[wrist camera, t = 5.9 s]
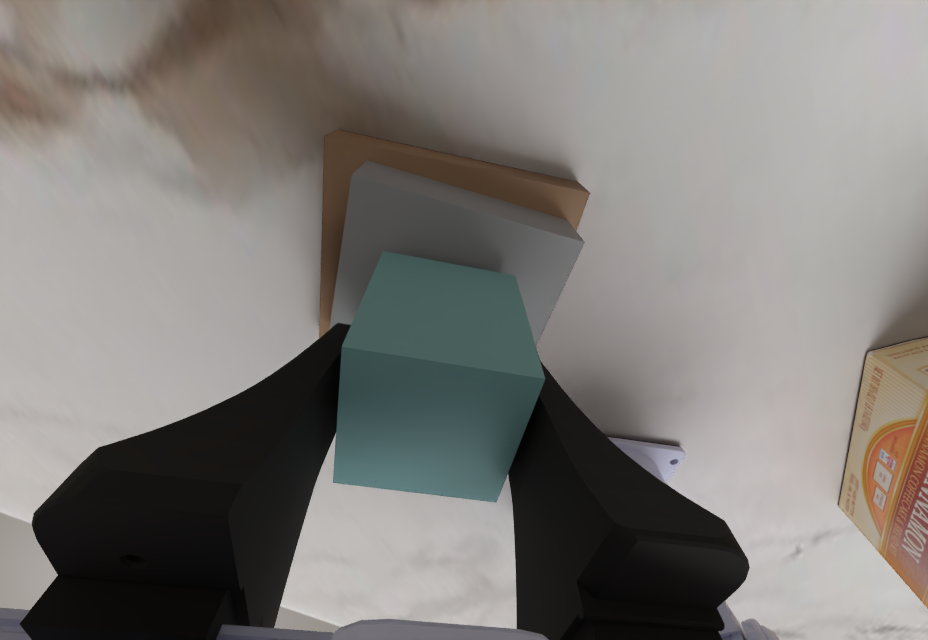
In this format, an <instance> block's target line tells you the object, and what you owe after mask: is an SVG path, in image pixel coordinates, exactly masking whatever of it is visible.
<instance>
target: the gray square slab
mask: <svg viewBox="0 0 928 640" xmlns="http://www.w3.org/2000/svg"><path fill="white" fill-rule="evenodd" d="M584 243H585V242H584V241H583V240H582V238H581V237H580V236H579V234H578V233H577V232H576V230H575V229H574V228H573V226H572V225H571V224H570V222H569V221H568V220H566V219H563V218H560V217H556V216H553V215H550V214H546V213H543V212H540V211H536V210H533V209H529V208H526V207H523V206H519V205H516V204H513V203H509V202H506V201H503V200H499V199H496V198H493V197H489V196H486V195H483V194H479V193H476V192H473V191H469V190H466V189H462V188H459V187H456V186H452V185H449V184H446V183H442V182H439V181H436V180H432V179H429V178H426V177H422V176H419V175H416V174H412V173H409V172H406V171H402V170H399V169H395V168H392V167H389V166H385V165H382V164H379V163H375V162H372V161H369V160H366V161H365V162H364V163H363V164H362V165H361V166H360V167H359V168H358V169H357V170H356V171H355V172H354V173H353V174H352V177H351V183H350V190H349V197H348V204H347V211H346V218H345V225H344V232H343V238H342V245H341V252H340V259H339V266H338V273H337V280H336V286H335V293H334V300H333V307H332V314H331V321H330V328H329V329H331V328H332V327H333V326H334V325H335V324H337V323H343V324H349V325H351V324H352V322H353V319H354V317H355V315H356V312H357V310H358V308H359V306H360V303H361V301H362V299H363V296H364V294H365V292H366V289H367V287H368V285H369V282H370V280H371V278H372V275H373V273H374V271H375V268H376V266H377V264H378V261H379V259H380V257H381V255H382V252H383V251H387V252H392V253H397V254H403V255H408V256H413V257H419V258H424V259H429V260H435V261H440V262H445V263H451V264H456V265H461V266H467V267H472V268H477V269H483V270H488V271H494V272H499V273H504V274H510V275H515V276H516V279H517V283H518V286H519V289H520V293H521V296H522V300H523V303H524V307H525V310H526V314H527V317H528V321H529V324H530V328H531V331H532V334H533V338H534V341H535V345H537V342H538V340H539V338H540V336H541V334H542V332H543V330H544V328H545V325H546V323H547V321H548V319H549V317H550V315H551V313H552V311H553V308H554V306H555V304H556V302H557V300H558V298H559V296H560V294H561V291H562V289H563V287H564V285H565V283H566V281H567V279H568V277H569V274H570V272H571V270H572V268H573V266H574V264H575V262H576V260H577V257H578V255H579V253H580V251H581V249H582V247H583V245H584Z"/></svg>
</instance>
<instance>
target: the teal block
mask: <svg viewBox="0 0 928 640" xmlns="http://www.w3.org/2000/svg"><path fill="white" fill-rule="evenodd" d="M544 381H545V376H544V372H543V369H542V366H541V362H540V359H539V355H538V352H537V348H536V345H535V341H534V338H533V334H532V331H531V328H530V324H529V321H528V317H527V314H526V310H525V307H524V303H523V300H522V296H521V293H520V289H519V286H518V283H517V279H516V276H515V275H510V274H504V273H499V272H494V271H488V270H483V269H477V268H472V267H467V266H461V265H456V264H451V263H445V262H440V261H435V260H429V259H424V258H419V257H413V256H408V255H403V254H397V253H392V252H387V251H383V252H382V255H381V257H380V259H379V261H378V264H377V266H376V268H375V271H374V273H373V275H372V278H371V280H370V282H369V285H368V287H367V289H366V292H365V294H364V296H363V299H362V301H361V303H360V306H359V308H358V310H357V312H356V315H355V317H354V319H353V322H352V324H351V326H350V329H349V331H348V333H347V336H346V338H345V340H344V343H343V345H342V351H341V366H340V382H339V397H338V413H337V429H336V444H335V460H334V475H333V483H340V484H348V485H356V486H365V487H373V488H381V489H390V490H398V491H406V492H415V493H423V494H431V495H440V496H448V497H456V498H465V499H473V500H481V501H490V502H497V500H498V497H499V495H500V492H501V489H502V487H503V484H504V482H505V479H506V477H507V474H508V472H509V469H510V467H511V464H512V462H513V459H514V457H515V454H516V452H517V449H518V447H519V444H520V442H521V439H522V436H523V434H524V431H525V429H526V426H527V424H528V421H529V419H530V416H531V414H532V411H533V409H534V406H535V404H536V401H537V399H538V396H539V394H540V391H541V389H542V386H543V383H544Z"/></svg>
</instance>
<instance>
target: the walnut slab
mask: <svg viewBox="0 0 928 640" xmlns="http://www.w3.org/2000/svg"><path fill="white" fill-rule="evenodd" d="M366 160H369V161H372V162H375V163H379V164H382V165H385V166H389V167H392V168H395V169H399V170H402V171H406V172H409V173H412V174H416V175H419V176H422V177H426V178H429V179H432V180H436V181H439V182H442V183H446V184H449V185H452V186H456V187H459V188H462V189H466V190H469V191H473V192H476V193H479V194H483V195H486V196H489V197H493V198H496V199H499V200H503V201H506V202H509V203H513V204H516V205H519V206H523V207H526V208H529V209H533V210H536V211H540V212H543V213H546V214H550V215H553V216H556V217H560V218H563V219H566V220H568V221H569V222H570V224H571V225H572V226H573V228H574V229H575V230H577V227H578V225H579V222H580V219H581V216H582V214H583V211H584V208H585V205H586V203H587V200H588V197H589V194H590V192H588V191H587V190H586V189H585V188H584V187H583V186H582V185H581V184H580V183H579V182H576V181H571V180H566V179H562V178H557V177H553V176H548V175H543V174H539V173H534V172H530V171H525V170H520V169H516V168H511V167H507V166H502V165H497V164H493V163H488V162H484V161H479V160H474V159H470V158H465V157H461V156H456V155H451V154H447V153H442V152H438V151H433V150H428V149H424V148H419V147H415V146H410V145H405V144H401V143H396V142H392V141H387V140H382V139H378V138H373V137H369V136H364V135H359V134H355V133H350V132H346V131H341V130H336V131H334V132H332V133H330V134H327V135H325V136H324V174H323V213H322V253H321V292H320V331H319V338H320V337H321V336H323V335H324V334H325V333H326V332H327V331H328V330H329V328H330V321H331V314H332V307H333V300H334V293H335V286H336V280H337V273H338V266H339V259H340V252H341V245H342V238H343V232H344V225H345V218H346V211H347V204H348V197H349V190H350V183H351V177H352V174H353V173H354V172H355V171H356V170H357V169H358V168H359V167H360V166H361V165H362V164H363V163H364V162H365V161H366Z"/></svg>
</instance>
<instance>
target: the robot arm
mask: <svg viewBox="0 0 928 640" xmlns="http://www.w3.org/2000/svg"><path fill="white" fill-rule="evenodd" d="M350 326H351V325H349V324H343V323H337V324H335V325H334V326H333V327H332V328H331V329H329V330H328V331H327V332H326V333H325V334H324V335H323V336H321V337H320V338H319V339H318V340H317V341H316V342H314V343H313V344H312V345H311V346H310V347H308V348H307V349H306V350H304V351H303V352H302V353H301V354H299V355H298V356H297V357H296V358H294V359H293V360H291V361H290V362H289V363H287V364H286V365H284V366H283V367H282V368H280V369H279V370H277V371H276V372H274V373H273V374H271V375H270V376H268V377H267V378H265V379H264V380H262V381H260V382H259V383H257V384H255V385H254V386H252V387H250V388H249V389H247V390H245V391H243V392H241V393H239V394H238V395H236V396H233V397H231V398H229V399H227V400H225V401H223V402H221V403H219V404H217V405H215V406H213V407H210V408H208V409H206V410H204V411H202V412H199V413H197V414H195V415H192V416H190V417H187V418H185V419H182V420H180V421H177V422H174V423H172V424H169V425H167V426H164V427H161V428H158V429H156V430H153V431H150V432H147V433H144V434H140V435H137V436H134V437H131V438H128V439H125V440H122V441H118V442H115V443H112V444H109V445H105V446H102V447H99V448H97V449H96V450H95V451H94V452H93V453H92V454H91V455H90V456H89V457H88V458H87V459H85V460H84V461H83V462H82V463H81V464H80V465H79V466H78V467H77V468H76V469H75V470H74V471H73V472H72V474H71V475H70V476H69V477H68V478H67V479H66V480H65V481H64V482H63V483H62V484H61V485H60V486H59V487H58V488H57V489H56V491H55V492H54V493H53V494H52V495H51V496H50V497H49V498H48V499H47V500H46V501H45V502H44V503H43V504H42V505H41V506H40V507H39V508H38V509H37V510H36V512H35V513H34V516H33V520H32V527H33V530H34V533H35V536H36V539H37V541H38V543H39V544H40V545H41V547H42V549H43V551H44V552H45V554H46V555H47V557H48V559H49V561H50V562H51V564H52V566H53V567H54V569H55V571H56V572H57V574H58V576H57V577H56V579H55V580H54V581H53V582H52V584H51V585H50V586H49V587H48V589H47V590H46V591H45V592H44V594H43V595H42V596H41V598H40V599H39V600H38V601H37V602H36V604H35V605H34V606H33V607H32V609H31V610H23V609H9V608H0V640H779V638H778V637H777V635H776V633H775V632H774V631H772V630H770V629H768V628H766V627H765V626H760V624H759V623H758V622H757V621H756V620H755V619H748V620H745V621H743V622H741V624H742V626H741V625H740V623H739V622H738V620H737V619H736V617H735V616H734V614H733V613H732V611H731V610H730V608H729V607H728V605H727V603H726V601H725V600H726V599H727V598H728V597H729V596H731V595H732V594H733V593H734V592H735V591H736V590H737V589H738V588H739V587H740V586H741V585H742V583H743V582H744V581H745V580H746V577H747V574H748V571H749V568H750V567H749V563H748V559H747V557H746V556H745V554H744V552H743V551H742V549H741V547H740V546H739V544H738V542H737V541H736V539H735V537H734V535H733V534H732V532H731V530H730V529H729V527H728V525H727V524H726V522H725V521H724V520H722V519H721V518H719V517H717V516H716V515H714V514H712V513H711V512H709V511H707V510H706V509H704V508H702V507H701V506H699V505H697V504H696V503H694V502H692V501H691V500H689V499H687V498H686V497H684V496H683V495H681V494H680V493H678V492H677V491H675V490H674V489H672V488H671V487H669V486H668V485H667V484H666V483H667V481H668V480H669V478H670V477H671V476H672V474H673V473H674V471H675V470H676V469H677V467H678V466H679V464H680V463H681V462H682V460H683V459H684V457H685V452H684V450H683V449H682V448H681V447H676V446H669V445H662V444H655V443H648V442H640V441H633V440H626V439H619V438H611V437H606V436H605V435H604V434H603V433H602V432H601V431H600V430H599V429H598V428H597V427H596V426H595V425H594V424H593V423H592V422H591V421H590V420H589V419H588V418H587V417H586V416H585V415H584V413H583V412H582V411H581V410H580V409H579V408H578V407H577V406H576V405H575V404H574V402H573V401H572V400H571V399H570V398H569V397H568V395H567V394H566V393H565V392H564V390H563V389H562V388H561V387H560V386H559V384H558V383H557V382H556V380H555V379H554V378H553V377H552V375H551V374H550V373H549V371H548V370H547V369H546V368H545V366H544V365H543V364H542V362H541V361H540V362H541V366H542V369H543V372H544V376H545V381H544V383H543V386H542V389H541V391H540V394H539V396H538V399H537V401H536V404H535V406H534V409H533V411H532V414H531V416H530V419H529V421H528V424H527V426H526V429H525V431H524V434H523V436H522V439H521V442H520V444H519V447H518V449H517V452H516V454H515V457H514V459H513V462H512V464H511V467H510V469H509V472H508V475H509V481H510V487H511V494H512V503H513V517H514V534H515V558H516V595H517V629H509V628H496V627H484V626H471V625H459V624H446V623H434V622H421V621H409V620H396V619H378V620H361V621H358V622H355V623H352V624H349V625H347V626H344V627H341V628H339V629H338V630H337V631H336V632H334V633H331V632H317V631H303V630H290V629H277V628H274V626H275V622H276V618H277V615H278V611H279V607H280V604H281V600H282V596H283V592H284V589H285V585H286V582H287V578H288V575H289V571H290V567H291V564H292V560H293V557H294V553H295V550H296V546H297V543H298V539H299V536H300V533H301V529H302V526H303V522H304V519H305V515H306V512H307V509H308V506H309V502H310V499H311V496H312V492H313V489H314V486H315V483H316V480H317V477H318V475H319V472H320V469H321V467H322V464H323V462H324V460H325V457H326V455H327V452H328V450H329V448H330V445H331V443H332V441H333V438H334V436H335V433H336V429H337V413H338V397H339V382H340V366H341V351H342V345H343V343H344V340H345V338H346V336H347V333H348V331H349V329H350ZM742 627H743V628H742Z"/></svg>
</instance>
